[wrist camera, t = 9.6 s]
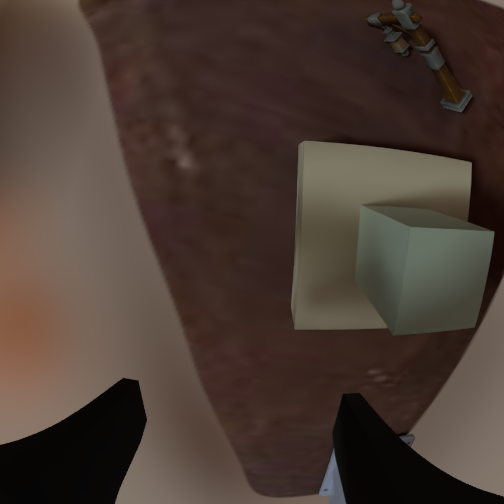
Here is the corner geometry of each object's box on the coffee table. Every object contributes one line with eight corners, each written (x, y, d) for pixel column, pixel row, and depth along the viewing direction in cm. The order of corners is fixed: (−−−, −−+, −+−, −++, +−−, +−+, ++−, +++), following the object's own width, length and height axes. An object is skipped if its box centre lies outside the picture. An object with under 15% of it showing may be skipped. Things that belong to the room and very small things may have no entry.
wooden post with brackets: (364, 0, 14) (412, -10, 10) (428, 86, 18) (475, 96, 14) (349, 14, 14) (396, 5, 11) (416, 101, 18) (463, 113, 15)
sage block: (418, 279, 16) (474, 327, 10) (354, 280, 16) (393, 335, 10) (427, 208, 15) (494, 231, 9) (360, 204, 15) (410, 226, 9)
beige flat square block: (428, 305, 20) (447, 324, 17) (291, 306, 20) (294, 329, 17) (446, 161, 17) (471, 162, 14) (298, 145, 17) (304, 140, 15)
